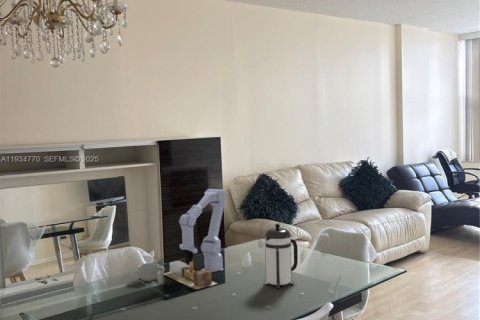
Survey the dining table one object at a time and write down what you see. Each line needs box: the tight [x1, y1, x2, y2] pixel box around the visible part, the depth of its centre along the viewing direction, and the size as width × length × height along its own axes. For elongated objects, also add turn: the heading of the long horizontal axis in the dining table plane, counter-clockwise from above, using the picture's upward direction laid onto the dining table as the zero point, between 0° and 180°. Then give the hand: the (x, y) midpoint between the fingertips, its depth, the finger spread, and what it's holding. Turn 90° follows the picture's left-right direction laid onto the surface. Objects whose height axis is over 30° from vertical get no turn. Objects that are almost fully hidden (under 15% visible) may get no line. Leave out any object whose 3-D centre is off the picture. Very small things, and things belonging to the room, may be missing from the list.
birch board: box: [162, 271, 218, 290], centre depth 246 cm, size 13×33×1 cm, turn 37°
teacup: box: [137, 262, 165, 282], centre depth 246 cm, size 14×11×8 cm
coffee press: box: [263, 223, 299, 290], centre depth 234 cm, size 17×16×30 cm
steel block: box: [169, 260, 189, 278], centre depth 253 cm, size 6×12×6 cm, turn 37°
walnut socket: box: [194, 268, 213, 289], centre depth 235 cm, size 7×5×6 cm
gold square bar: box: [183, 260, 197, 280], centre depth 247 cm, size 3×19×8 cm, turn 37°
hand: (188, 264), depth 245 cm, fingers closed
